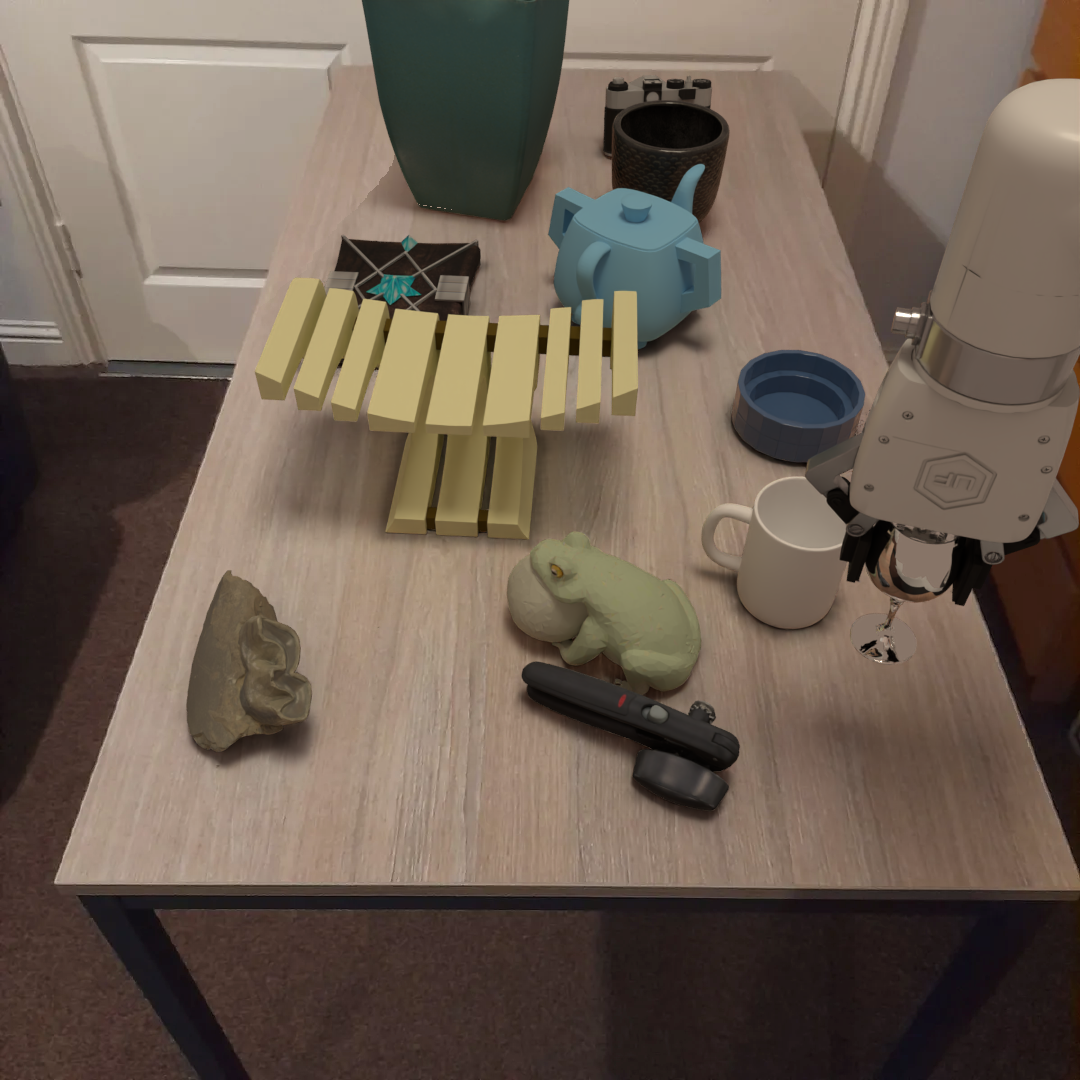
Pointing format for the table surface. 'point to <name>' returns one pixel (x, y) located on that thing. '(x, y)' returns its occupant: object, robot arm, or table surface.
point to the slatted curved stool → (450, 392)
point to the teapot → (635, 255)
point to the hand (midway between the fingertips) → (906, 575)
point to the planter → (669, 150)
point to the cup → (784, 553)
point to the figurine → (605, 612)
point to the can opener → (645, 733)
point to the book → (408, 274)
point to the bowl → (796, 404)
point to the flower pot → (467, 95)
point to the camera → (650, 97)
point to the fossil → (244, 670)
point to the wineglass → (904, 584)
